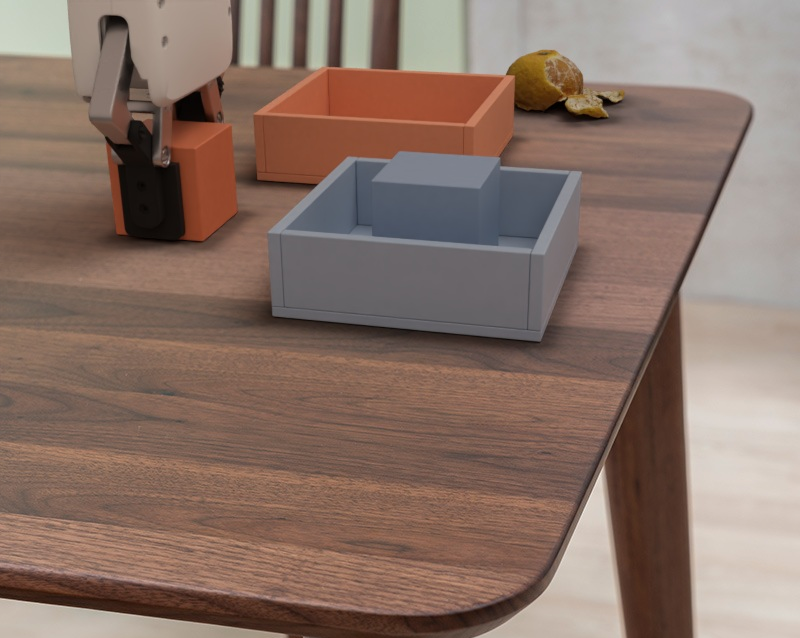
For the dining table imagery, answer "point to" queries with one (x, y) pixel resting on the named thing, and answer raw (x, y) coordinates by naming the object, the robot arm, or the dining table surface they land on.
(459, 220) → the slate block
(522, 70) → the fruit
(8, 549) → the dining table surface
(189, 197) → the terracotta block
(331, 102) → the terracotta bin
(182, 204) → the robot arm
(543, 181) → the slate bin
